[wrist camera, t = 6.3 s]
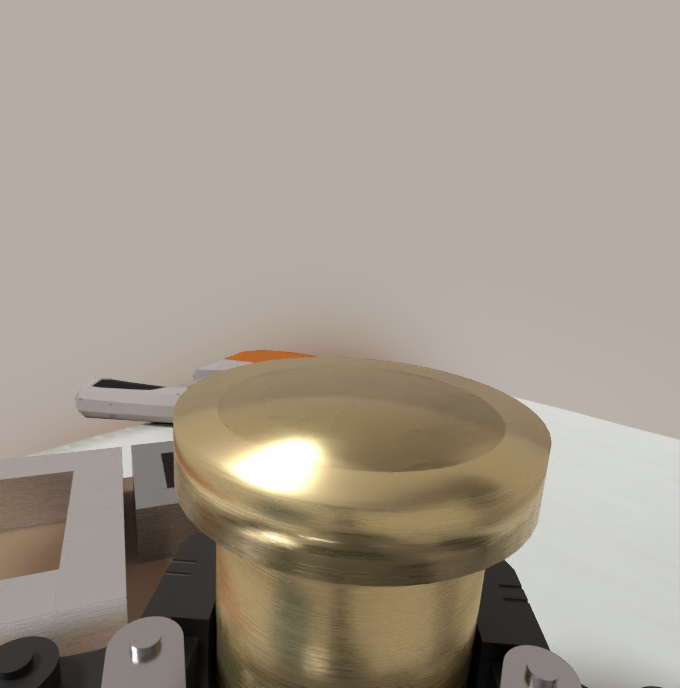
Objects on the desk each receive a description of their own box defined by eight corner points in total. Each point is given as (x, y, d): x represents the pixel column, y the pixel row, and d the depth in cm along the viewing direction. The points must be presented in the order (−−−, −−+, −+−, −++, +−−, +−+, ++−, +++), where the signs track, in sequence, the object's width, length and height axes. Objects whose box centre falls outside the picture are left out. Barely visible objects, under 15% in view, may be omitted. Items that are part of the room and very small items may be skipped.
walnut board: (251, 476, 31) (251, 461, 30) (357, 687, 17) (359, 663, 17) (-138, 531, 23) (-141, 512, 23) (-469, 963, 10) (-484, 927, 10)
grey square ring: (250, 474, 29) (251, 432, 28) (281, 536, 23) (283, 486, 23) (132, 490, 26) (131, 445, 26) (138, 564, 21) (135, 509, 20)
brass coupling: (381, 720, 16) (419, 352, 13) (526, 1001, 10) (647, 461, 8) (167, 798, 14) (158, 364, 11) (204, 1225, 8) (207, 543, 5)
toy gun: (66, 381, 36) (260, 409, 32) (208, 336, 54) (345, 350, 50) (69, 427, 37) (259, 460, 33) (209, 368, 55) (343, 384, 51)
